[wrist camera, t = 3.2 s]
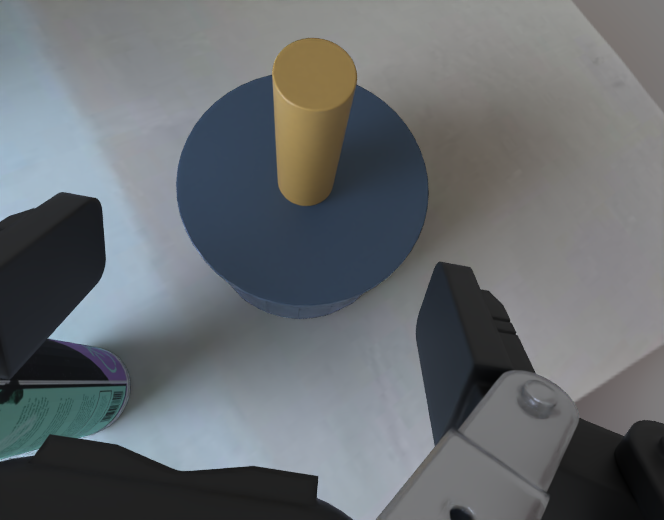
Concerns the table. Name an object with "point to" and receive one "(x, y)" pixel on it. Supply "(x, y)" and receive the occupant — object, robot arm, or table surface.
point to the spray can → (61, 395)
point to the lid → (303, 182)
